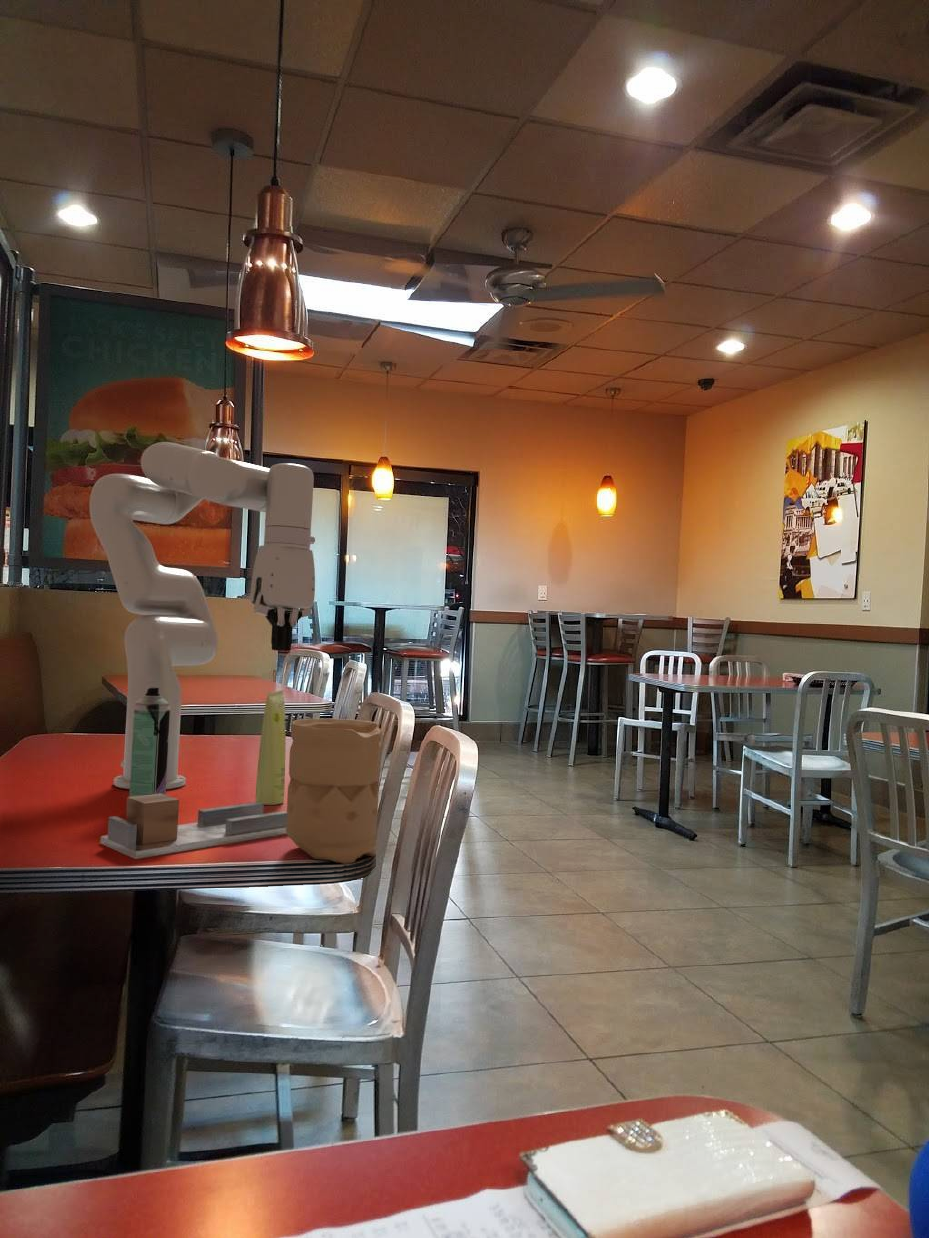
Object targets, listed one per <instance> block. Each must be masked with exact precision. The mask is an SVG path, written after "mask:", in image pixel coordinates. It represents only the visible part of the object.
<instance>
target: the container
mask: <svg viewBox="0 0 929 1238" xmlns="http://www.w3.org/2000/svg"><path fill="white" fill-rule="evenodd" d="M382 736H383V735H382V729H381V728H380V725H379V723H378V722H376V721H375V722H374V721H370V720H359V719H347V718H331V717H329V718H326V717H325V718H303V719H302V718H301V719H296V720H292V721H291V723H290V738H291V739H292V742H291V745H290V748H289V763H288V766H289V767H288V775H289V778H290V780H289V783H288V786H287V801H286V811H287V819H286V833H287V834H286V835H287V836H288V838H290V840H291V841H292V842H293V843H294V844H295V845H296V846H297V847H298V848H300V849H301V850H302V851H304V852H305V853H306V854H308V856H310V857H311V858H312V859H314V860H327V861H332V862H334V863H339V864H343V865H349V864H351V863H352V864H353V863H355V861H357V859H358V858H361V857H362V856H369V857H375V854H376V851H377V842H376V839H375V838H376V836H377V831H378V830H377V829H378V828H377V827H378V815H379V814H378V811H379V809H378V808H379V796H380V795H379V791H380V790H379V789H380V776H381V773H380V772H381V758H382V756H381V753H382V748H381V745H380V743H381V742H382V738H383V737H382Z"/></svg>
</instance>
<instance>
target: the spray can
mask: <svg viewBox="0 0 929 1238" xmlns="http://www.w3.org/2000/svg"><path fill="white" fill-rule="evenodd" d="M161 697H162V695H160V693H159V688H158V687H152V688H149V689H148V690H147V693H146V695H144V698H142V699H140V700H139V701H137V702H135V704H136V706H135V707H134V723H133V741H132V760H131V778H130V789H129V796H128V797H134V796H143V795H151V794H160V793H161V794H164V795H167V794H166V792H167V789H166V775H167V757H168V739H169V720H170V707H169V705H170V703H169V702H167V701H166V700H165V699H163V698H161Z"/></svg>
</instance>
